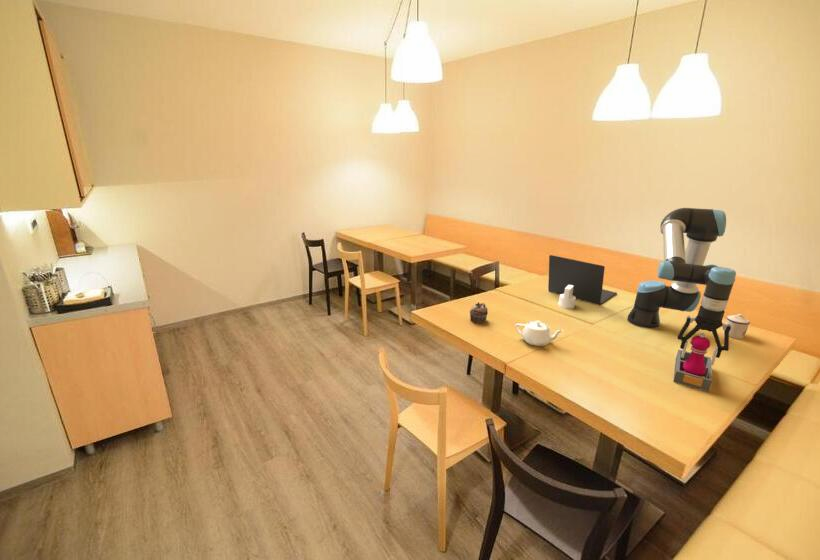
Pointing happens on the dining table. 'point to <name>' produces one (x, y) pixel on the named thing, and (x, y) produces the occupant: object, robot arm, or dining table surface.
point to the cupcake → (478, 313)
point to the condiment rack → (691, 379)
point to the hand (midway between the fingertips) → (696, 359)
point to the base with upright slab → (567, 298)
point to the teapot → (537, 333)
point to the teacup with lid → (737, 326)
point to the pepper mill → (697, 356)
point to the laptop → (578, 279)
